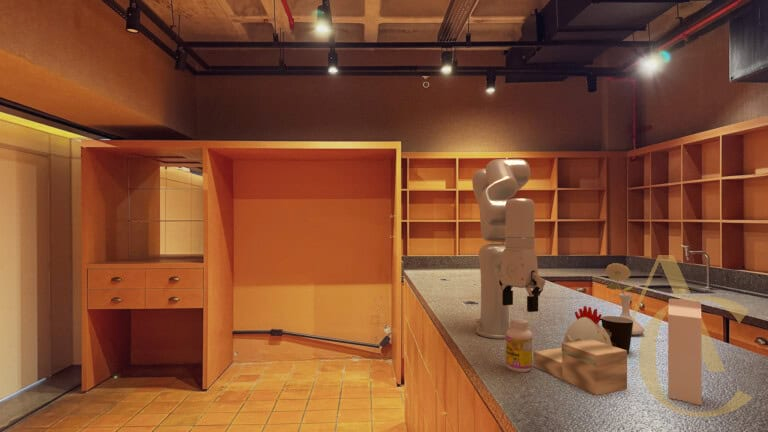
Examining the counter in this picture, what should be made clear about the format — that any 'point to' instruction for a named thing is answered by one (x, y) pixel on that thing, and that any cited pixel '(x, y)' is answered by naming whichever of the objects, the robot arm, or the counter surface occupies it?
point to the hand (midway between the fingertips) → (519, 308)
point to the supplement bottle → (519, 346)
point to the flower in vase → (619, 274)
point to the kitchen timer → (587, 328)
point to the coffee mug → (618, 331)
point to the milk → (685, 350)
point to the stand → (586, 365)
